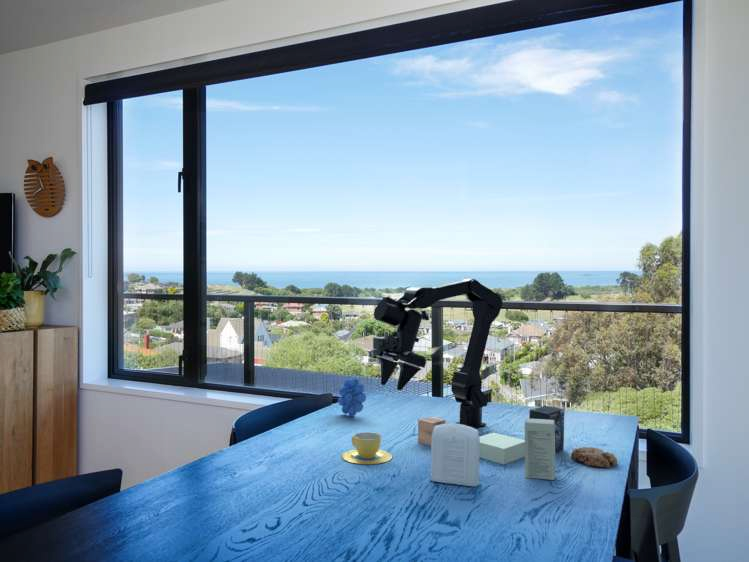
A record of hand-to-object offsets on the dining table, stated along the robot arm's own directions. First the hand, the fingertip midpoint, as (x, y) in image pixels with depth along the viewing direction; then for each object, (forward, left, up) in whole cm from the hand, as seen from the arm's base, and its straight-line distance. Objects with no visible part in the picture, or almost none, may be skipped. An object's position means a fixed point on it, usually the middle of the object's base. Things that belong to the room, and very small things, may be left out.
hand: (390, 387), depth 161 cm
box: (-21, +34, -14) cm, 43 cm away
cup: (+16, +8, -14) cm, 23 cm away
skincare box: (-3, +43, -14) cm, 46 cm away
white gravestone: (+14, +33, -14) cm, 39 cm away
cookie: (-22, +46, -14) cm, 53 cm away
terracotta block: (-5, +10, -14) cm, 18 cm away
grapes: (-9, -25, -14) cm, 30 cm away
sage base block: (-9, +28, -14) cm, 33 cm away
